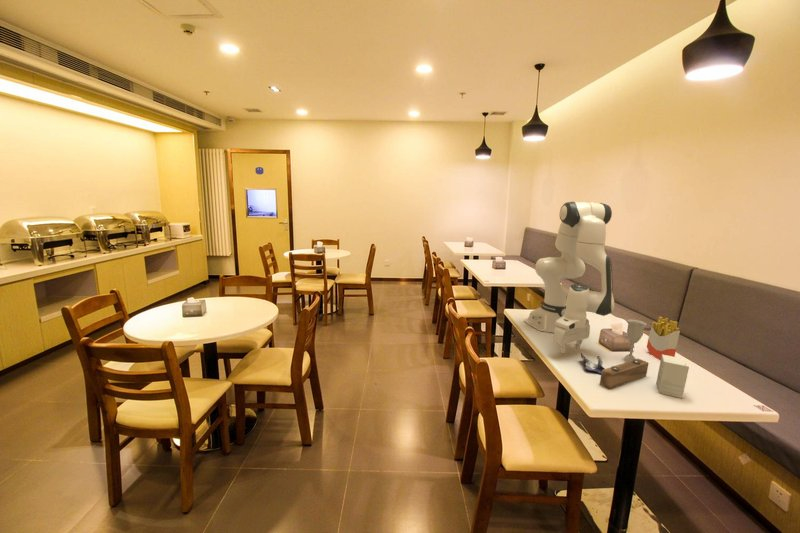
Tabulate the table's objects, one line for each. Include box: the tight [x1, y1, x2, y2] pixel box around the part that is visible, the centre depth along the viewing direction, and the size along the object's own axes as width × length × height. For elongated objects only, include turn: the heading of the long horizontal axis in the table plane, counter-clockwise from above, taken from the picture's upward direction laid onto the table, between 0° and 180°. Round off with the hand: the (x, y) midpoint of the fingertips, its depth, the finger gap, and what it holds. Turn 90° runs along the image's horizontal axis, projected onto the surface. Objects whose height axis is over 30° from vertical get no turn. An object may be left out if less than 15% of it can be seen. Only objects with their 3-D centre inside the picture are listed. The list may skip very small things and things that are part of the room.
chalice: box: [622, 319, 647, 363], centre depth 154 cm, size 7×7×18 cm
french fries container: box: [646, 316, 681, 361], centre depth 160 cm, size 5×11×18 cm, turn 5°
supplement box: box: [655, 354, 690, 399], centre depth 131 cm, size 7×7×13 cm
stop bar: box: [599, 358, 650, 390], centre depth 138 cm, size 4×24×7 cm, turn 118°
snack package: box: [580, 352, 606, 375], centre depth 147 cm, size 12×6×12 cm
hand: (570, 350), depth 159 cm, fingers open, 8 cm apart
